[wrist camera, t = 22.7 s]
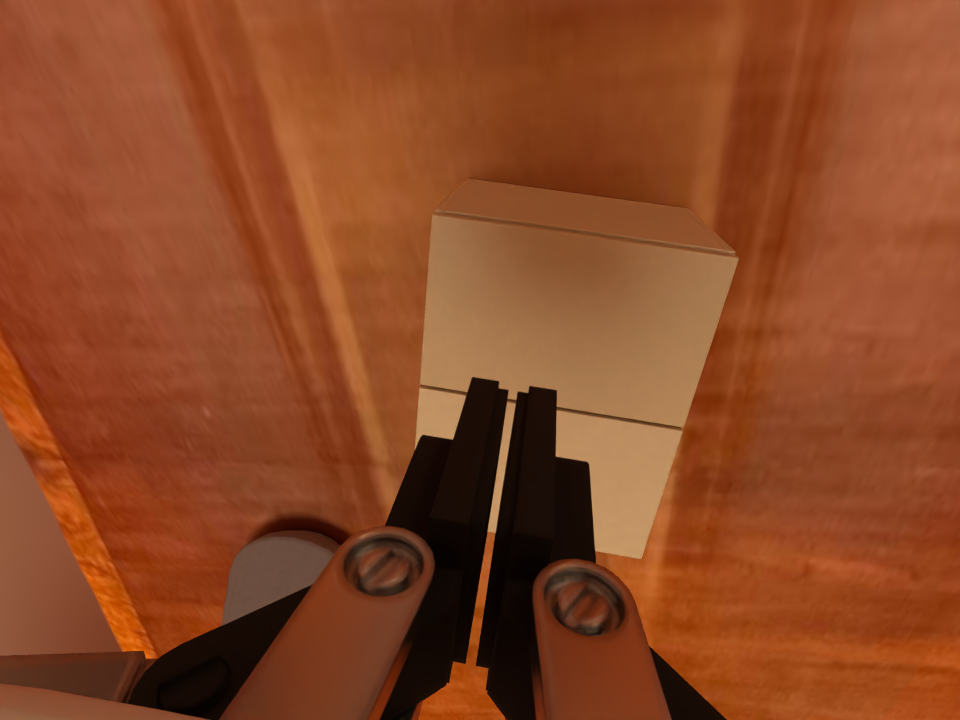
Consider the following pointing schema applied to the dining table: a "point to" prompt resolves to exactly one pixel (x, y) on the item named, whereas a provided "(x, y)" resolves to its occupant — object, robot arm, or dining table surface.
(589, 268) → the flap
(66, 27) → the dining table surface
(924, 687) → the dining table surface
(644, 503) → the carton
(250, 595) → the coffee pot
